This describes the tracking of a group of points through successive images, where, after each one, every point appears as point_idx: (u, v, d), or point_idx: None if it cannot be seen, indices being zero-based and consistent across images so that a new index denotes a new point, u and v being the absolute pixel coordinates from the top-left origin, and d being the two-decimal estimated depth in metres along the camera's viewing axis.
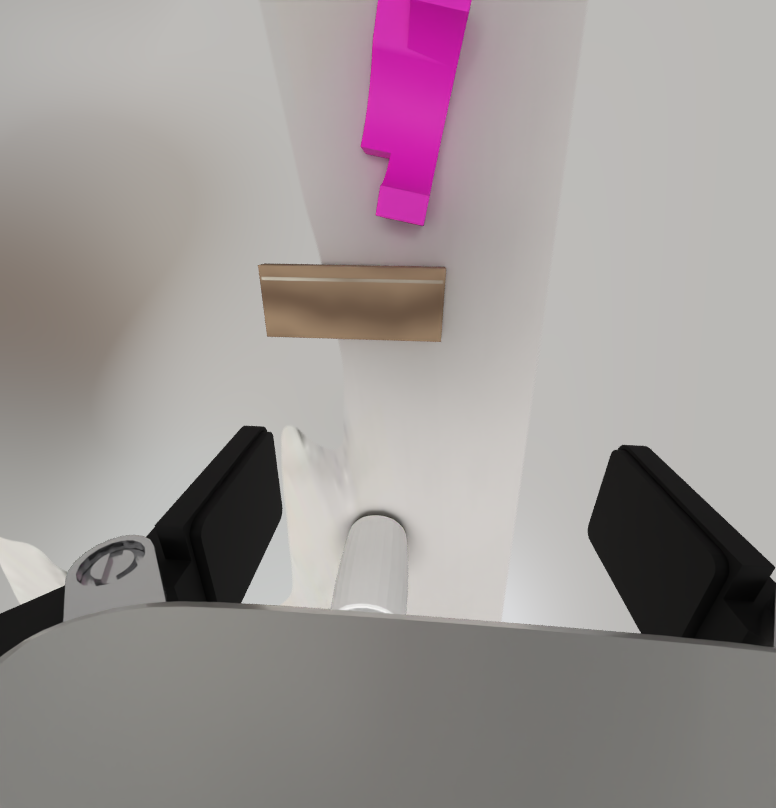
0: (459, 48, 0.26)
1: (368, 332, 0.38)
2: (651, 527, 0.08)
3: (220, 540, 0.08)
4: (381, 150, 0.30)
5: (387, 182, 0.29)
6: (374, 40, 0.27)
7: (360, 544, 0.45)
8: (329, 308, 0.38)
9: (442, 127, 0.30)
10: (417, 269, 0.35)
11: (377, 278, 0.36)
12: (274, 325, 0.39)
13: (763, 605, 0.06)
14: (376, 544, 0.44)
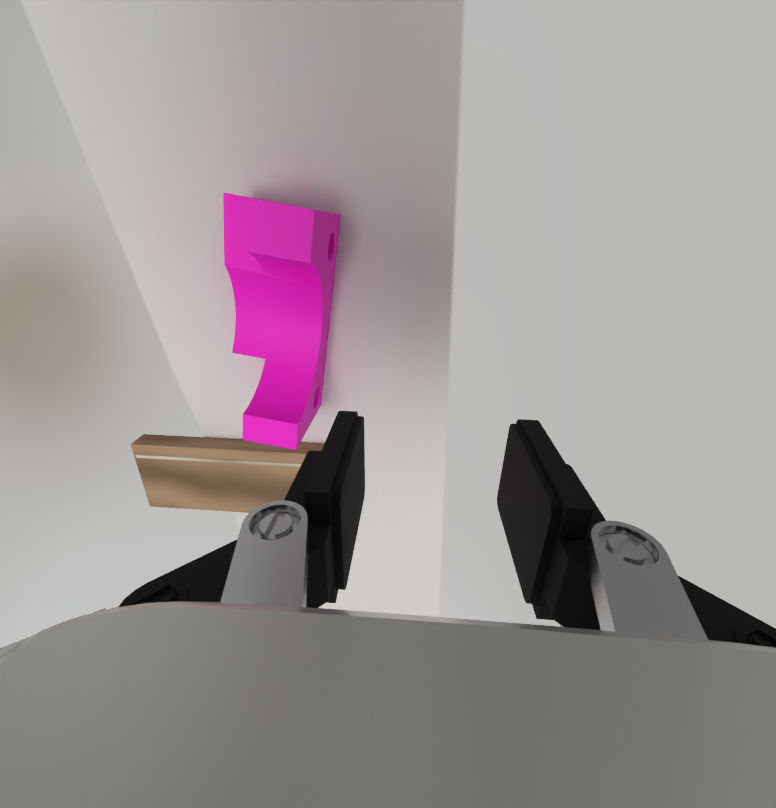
0: (317, 276, 0.23)
1: (256, 507, 0.36)
2: (525, 487, 0.09)
3: (345, 508, 0.08)
4: (255, 355, 0.28)
5: (256, 400, 0.26)
6: (226, 264, 0.24)
7: None
8: (211, 484, 0.35)
9: (319, 332, 0.27)
10: (299, 454, 0.33)
11: (258, 460, 0.33)
12: (156, 497, 0.36)
13: None
14: None
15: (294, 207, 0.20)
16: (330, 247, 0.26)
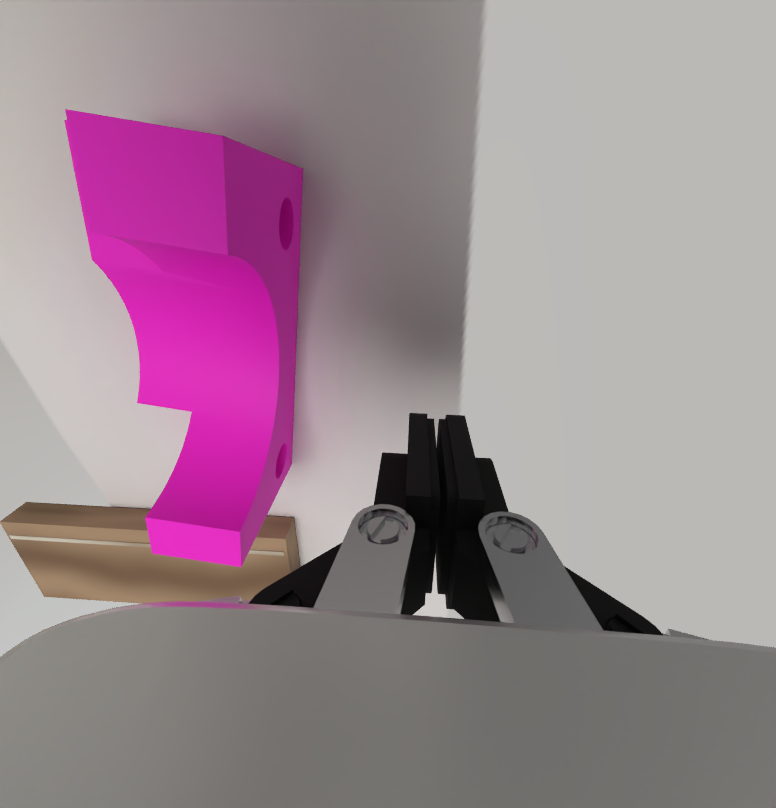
0: (258, 277, 0.13)
1: (188, 599, 0.26)
2: (441, 480, 0.09)
3: None
4: (175, 406, 0.17)
5: (173, 486, 0.16)
6: (95, 259, 0.13)
7: None
8: (123, 572, 0.25)
9: (276, 368, 0.17)
10: None
11: None
12: (50, 586, 0.26)
13: None
14: None
15: (178, 131, 0.09)
16: (288, 226, 0.15)
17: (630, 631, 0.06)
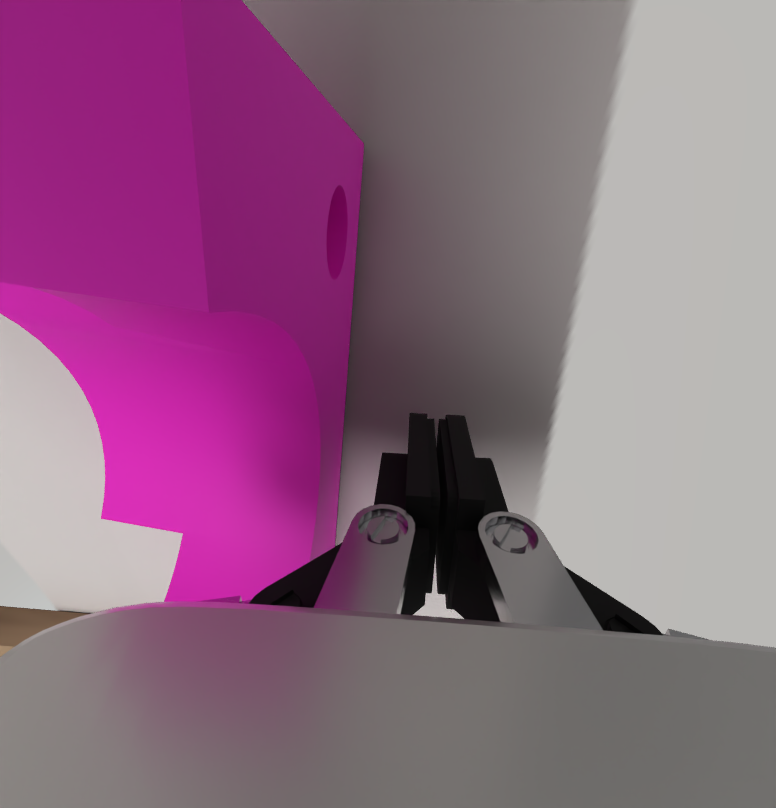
0: (288, 339, 0.06)
1: None
2: (441, 480, 0.09)
3: None
4: (158, 524, 0.11)
5: None
6: None
7: None
8: None
9: (316, 469, 0.10)
10: None
11: None
12: None
13: None
14: None
15: None
16: (337, 238, 0.09)
17: (630, 631, 0.06)
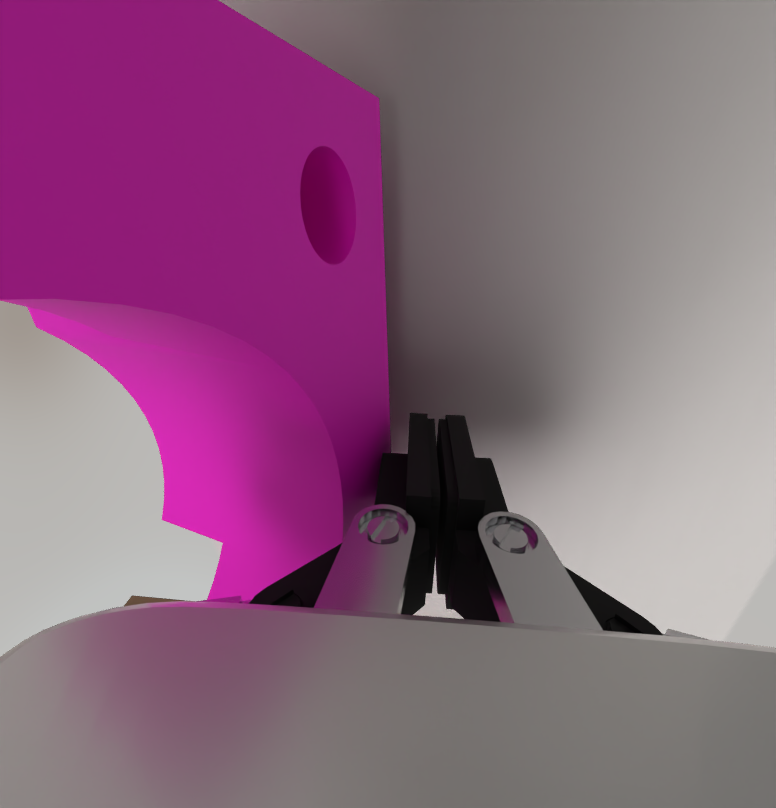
0: (233, 337, 0.05)
1: None
2: (441, 480, 0.09)
3: None
4: (204, 531, 0.11)
5: None
6: (39, 326, 0.08)
7: None
8: None
9: (337, 487, 0.09)
10: None
11: None
12: None
13: None
14: None
15: None
16: (347, 217, 0.08)
17: (630, 631, 0.06)
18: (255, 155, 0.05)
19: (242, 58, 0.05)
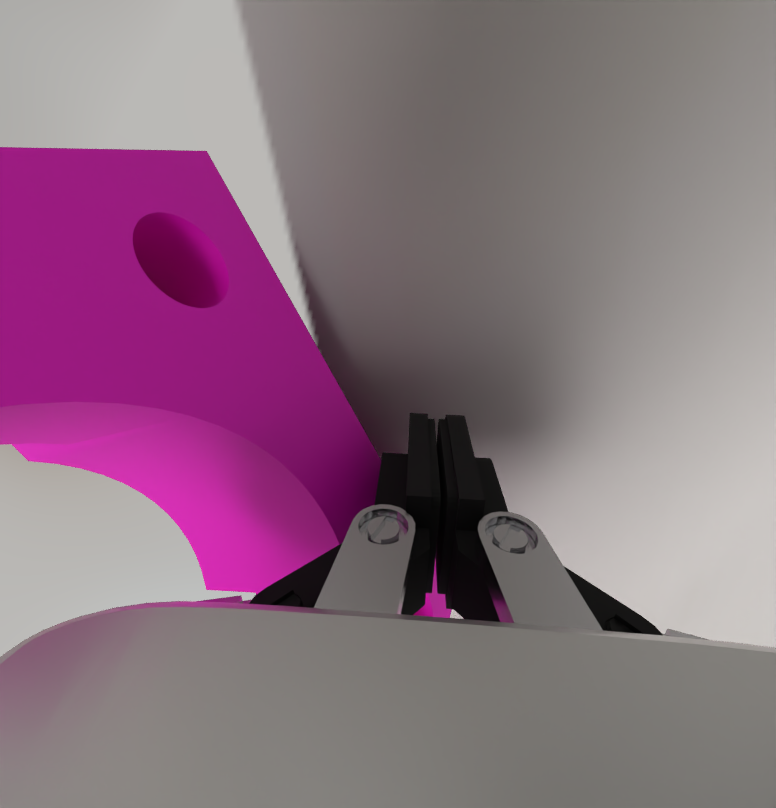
0: (108, 404, 0.06)
1: None
2: (441, 480, 0.09)
3: None
4: (240, 587, 0.12)
5: None
6: (29, 459, 0.09)
7: None
8: None
9: (314, 504, 0.09)
10: None
11: None
12: None
13: None
14: None
15: None
16: (216, 261, 0.08)
17: (629, 631, 0.06)
18: (67, 248, 0.06)
19: (19, 179, 0.05)
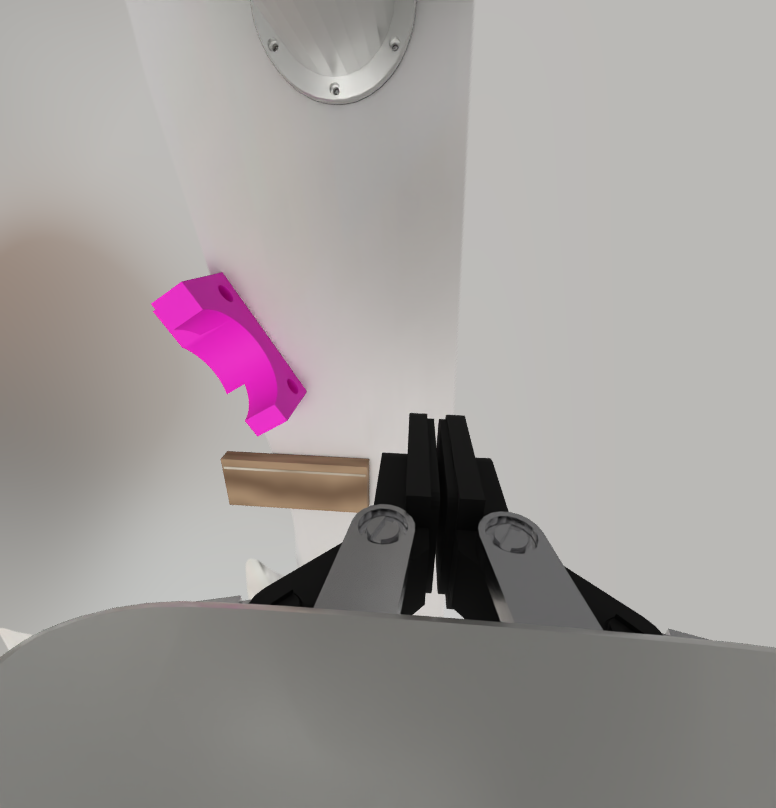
0: (222, 313, 0.35)
1: (310, 505, 0.48)
2: (441, 480, 0.09)
3: None
4: (239, 386, 0.40)
5: (250, 409, 0.38)
6: (182, 346, 0.37)
7: None
8: (278, 488, 0.47)
9: (258, 345, 0.39)
10: (345, 466, 0.45)
11: (314, 471, 0.46)
12: (235, 497, 0.48)
13: None
14: None
15: (173, 288, 0.32)
16: (229, 294, 0.38)
17: (630, 631, 0.06)
18: (212, 290, 0.35)
19: (205, 281, 0.35)
